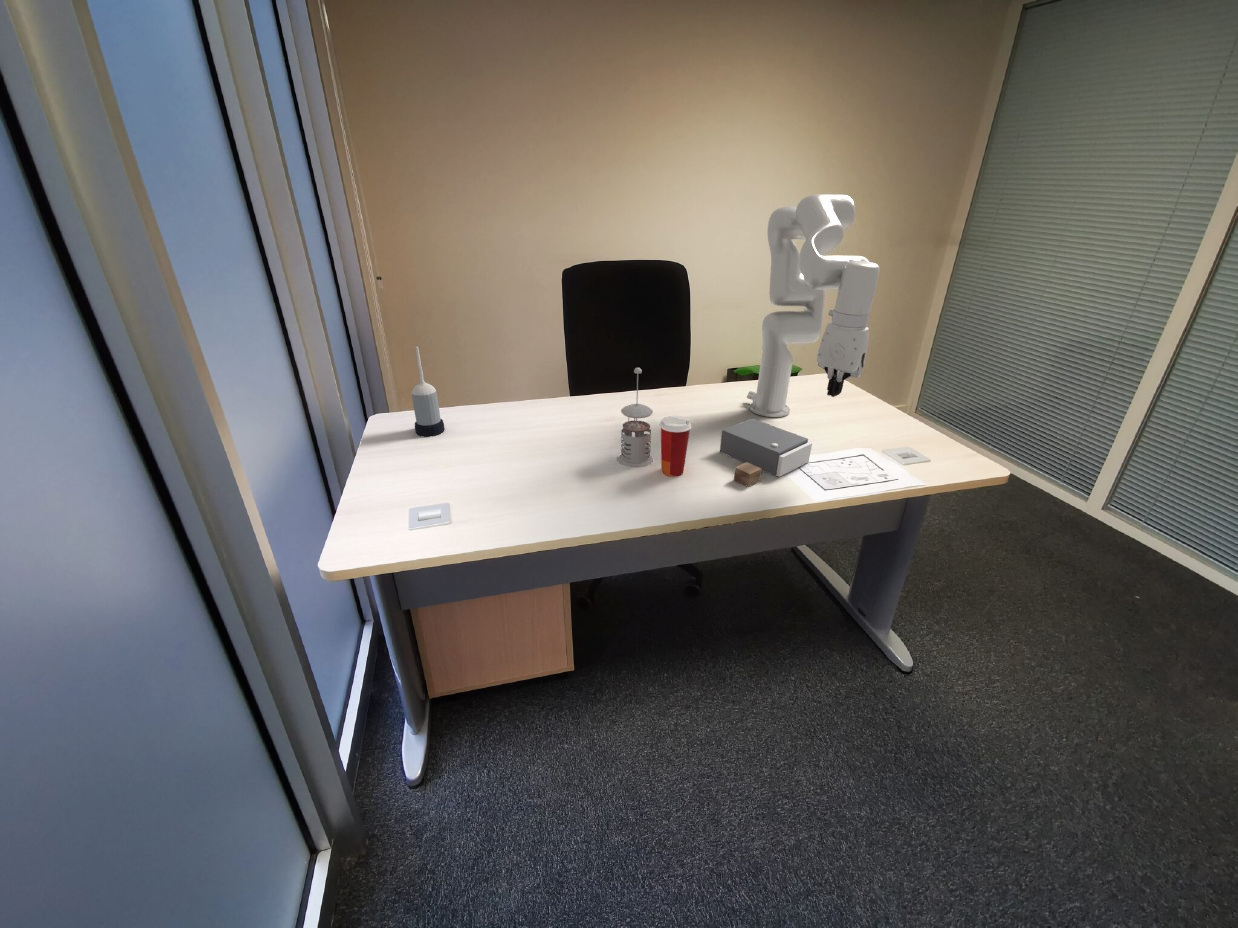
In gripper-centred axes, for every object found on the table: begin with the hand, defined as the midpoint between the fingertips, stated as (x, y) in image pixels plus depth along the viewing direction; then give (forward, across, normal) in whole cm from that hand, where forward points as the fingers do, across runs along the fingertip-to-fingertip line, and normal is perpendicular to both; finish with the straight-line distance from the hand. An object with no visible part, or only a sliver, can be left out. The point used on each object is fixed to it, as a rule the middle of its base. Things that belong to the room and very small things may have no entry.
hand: (833, 394), depth 131 cm
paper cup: (+20, -21, -32) cm, 44 cm away
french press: (+20, -33, -34) cm, 52 cm away
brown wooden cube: (+19, -6, -21) cm, 30 cm away
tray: (+20, -11, -7) cm, 24 cm away
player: (+20, -12, -7) cm, 25 cm away
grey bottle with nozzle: (+21, -84, -70) cm, 111 cm away
